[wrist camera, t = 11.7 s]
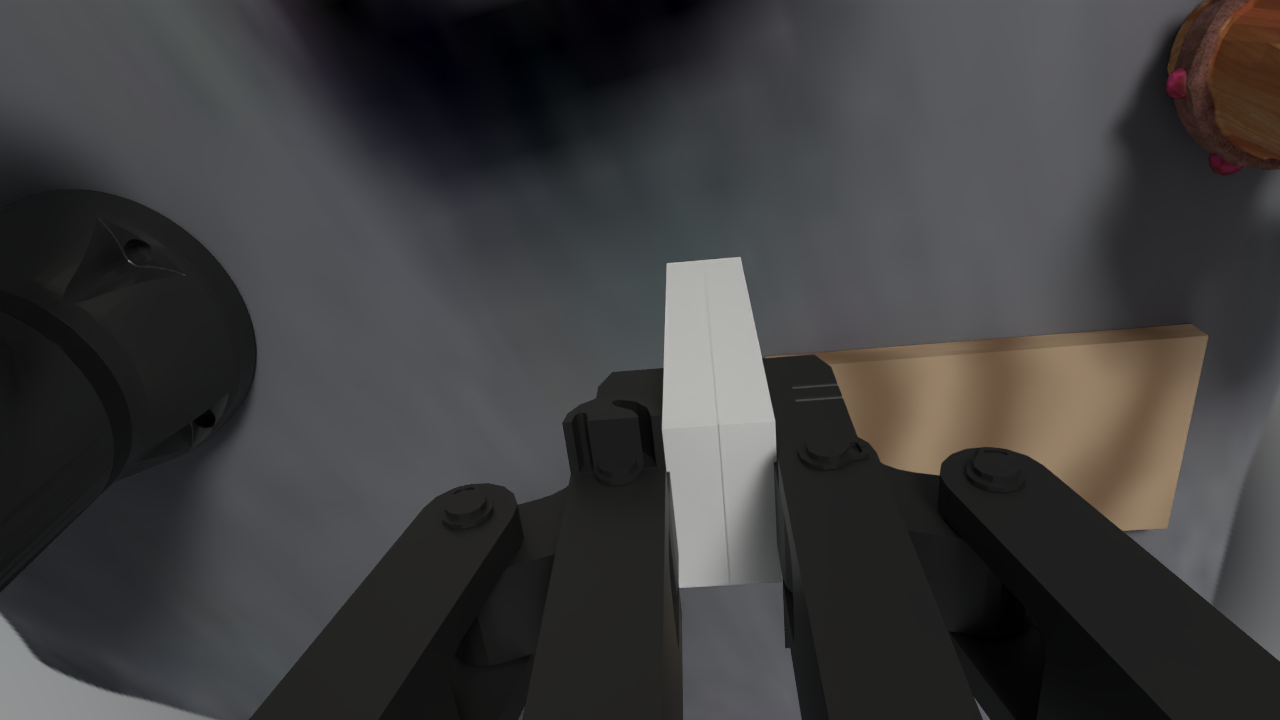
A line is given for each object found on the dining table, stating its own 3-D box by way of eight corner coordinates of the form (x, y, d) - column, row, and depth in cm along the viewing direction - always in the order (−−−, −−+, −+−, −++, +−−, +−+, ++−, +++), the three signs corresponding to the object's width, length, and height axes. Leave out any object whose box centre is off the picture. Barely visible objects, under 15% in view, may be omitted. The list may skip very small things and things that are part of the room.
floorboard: (772, 537, 50) (775, 553, 48) (764, 356, 44) (767, 369, 43) (1152, 514, 48) (1166, 531, 47) (1191, 323, 43) (1208, 335, 41)
